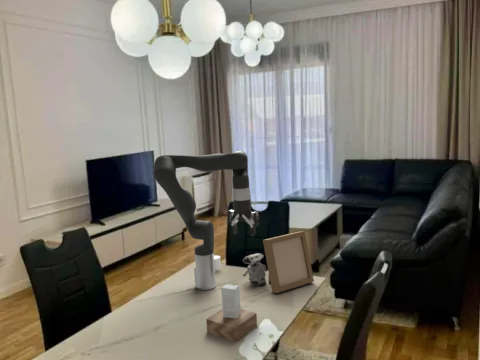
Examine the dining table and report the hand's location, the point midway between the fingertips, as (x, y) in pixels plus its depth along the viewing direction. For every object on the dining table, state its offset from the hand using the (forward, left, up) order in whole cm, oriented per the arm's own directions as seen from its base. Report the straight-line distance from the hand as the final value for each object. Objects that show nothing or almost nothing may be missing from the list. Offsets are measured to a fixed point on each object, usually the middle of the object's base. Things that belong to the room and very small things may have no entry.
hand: (244, 234), depth 189 cm
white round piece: (-36, +33, -32) cm, 58 cm away
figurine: (-7, +22, -32) cm, 39 cm away
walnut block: (+4, -22, -32) cm, 40 cm away
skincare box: (+4, -22, -27) cm, 35 cm away
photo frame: (+8, +27, -32) cm, 42 cm away
